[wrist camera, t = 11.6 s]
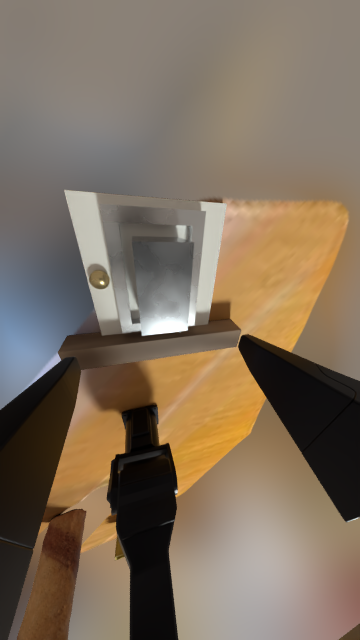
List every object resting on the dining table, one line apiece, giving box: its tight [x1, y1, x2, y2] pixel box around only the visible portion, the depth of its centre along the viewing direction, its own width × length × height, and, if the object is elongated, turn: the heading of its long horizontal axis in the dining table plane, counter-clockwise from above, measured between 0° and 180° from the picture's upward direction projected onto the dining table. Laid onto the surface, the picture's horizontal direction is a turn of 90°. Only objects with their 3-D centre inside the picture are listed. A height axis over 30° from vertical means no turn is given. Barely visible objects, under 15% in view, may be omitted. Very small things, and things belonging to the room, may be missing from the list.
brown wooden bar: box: [58, 319, 241, 370], centre depth 21 cm, size 3×22×3 cm, turn 87°
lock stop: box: [132, 236, 194, 336], centre depth 16 cm, size 8×4×5 cm, turn 178°
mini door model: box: [64, 190, 227, 336], centre depth 17 cm, size 14×14×2 cm
